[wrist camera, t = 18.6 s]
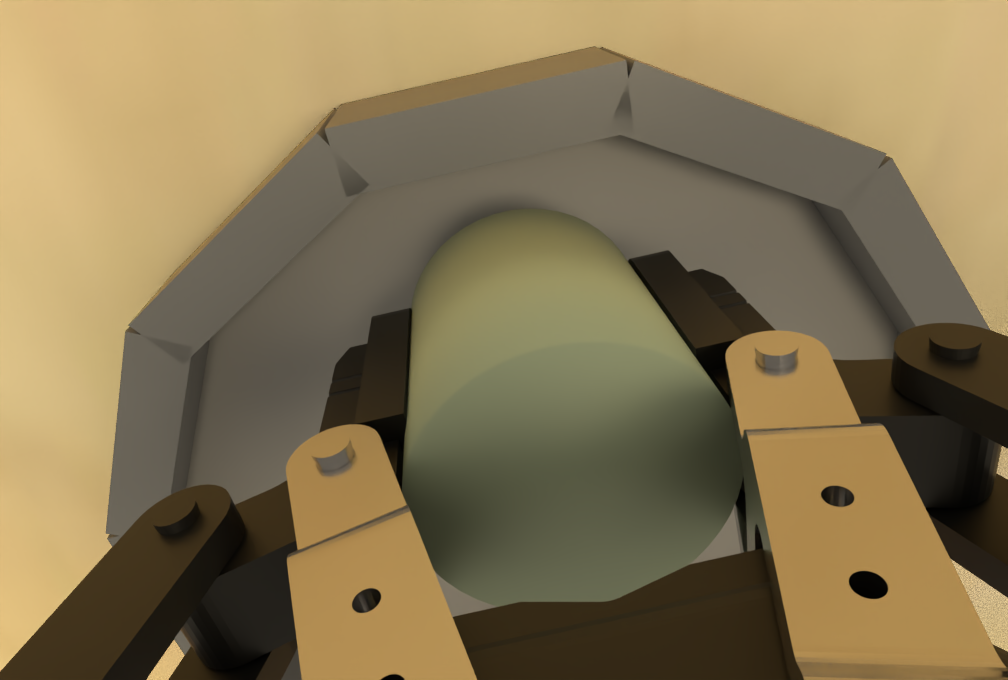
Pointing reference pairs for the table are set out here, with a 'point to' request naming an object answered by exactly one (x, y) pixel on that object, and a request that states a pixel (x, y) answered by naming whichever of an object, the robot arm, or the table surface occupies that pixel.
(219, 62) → the table surface
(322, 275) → the ring tray
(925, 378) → the robot arm
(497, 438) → the pale green rounded cylinder
